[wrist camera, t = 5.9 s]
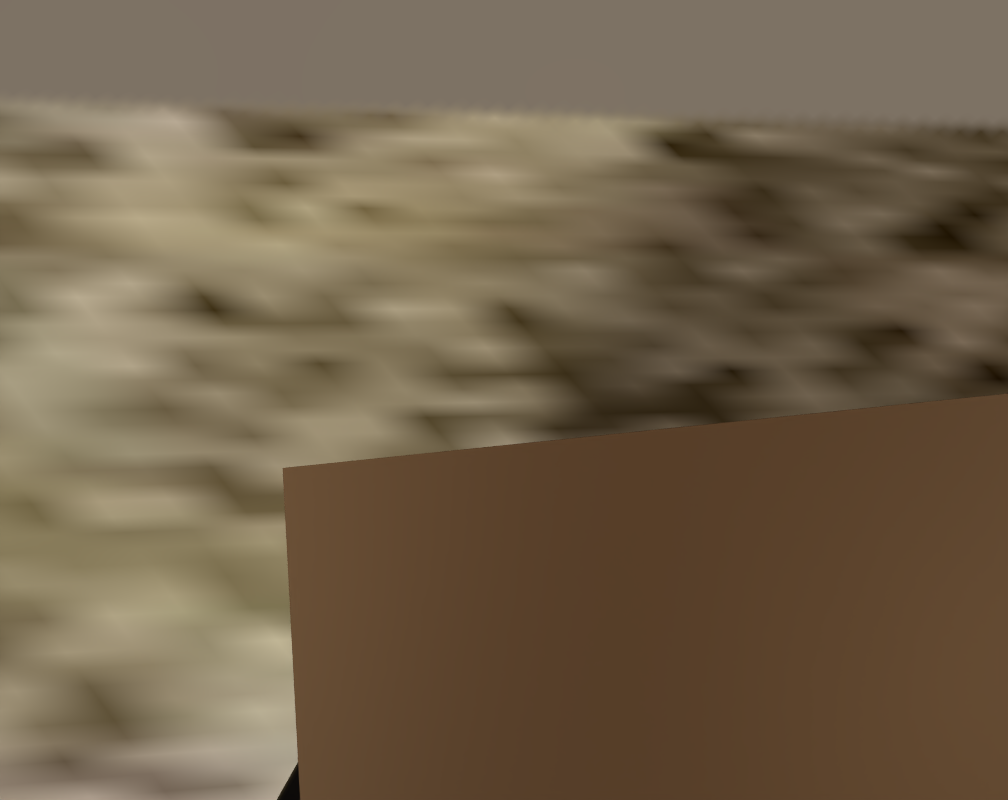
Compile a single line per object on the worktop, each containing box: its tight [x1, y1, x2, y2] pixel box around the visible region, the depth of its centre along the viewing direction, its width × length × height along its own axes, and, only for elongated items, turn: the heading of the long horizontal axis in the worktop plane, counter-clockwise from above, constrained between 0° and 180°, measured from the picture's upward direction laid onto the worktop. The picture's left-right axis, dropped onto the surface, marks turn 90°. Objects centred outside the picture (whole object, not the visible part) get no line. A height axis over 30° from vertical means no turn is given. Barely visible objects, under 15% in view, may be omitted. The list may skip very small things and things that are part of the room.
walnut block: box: [283, 394, 1008, 800], centre depth 9 cm, size 5×5×12 cm
